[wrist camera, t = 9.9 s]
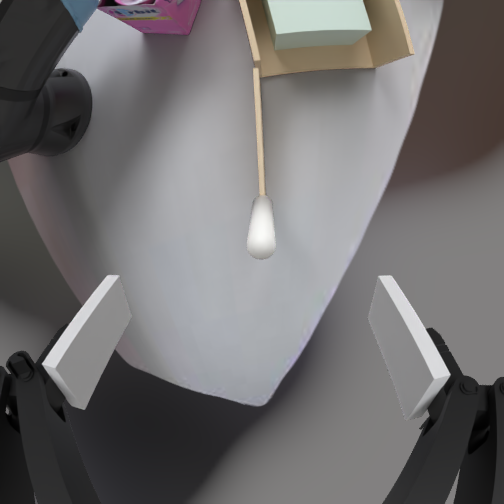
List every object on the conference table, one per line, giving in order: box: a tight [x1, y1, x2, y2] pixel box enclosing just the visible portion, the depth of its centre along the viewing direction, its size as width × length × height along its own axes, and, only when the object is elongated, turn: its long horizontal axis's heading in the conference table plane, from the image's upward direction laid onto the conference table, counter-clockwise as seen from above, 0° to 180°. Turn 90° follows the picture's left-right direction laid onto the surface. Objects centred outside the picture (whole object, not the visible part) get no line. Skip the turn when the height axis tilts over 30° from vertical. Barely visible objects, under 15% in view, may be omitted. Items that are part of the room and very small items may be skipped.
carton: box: [239, 0, 414, 78], centre depth 23 cm, size 17×17×12 cm
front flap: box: [247, 68, 276, 259], centre depth 27 cm, size 17×2×22 cm, turn 3°
